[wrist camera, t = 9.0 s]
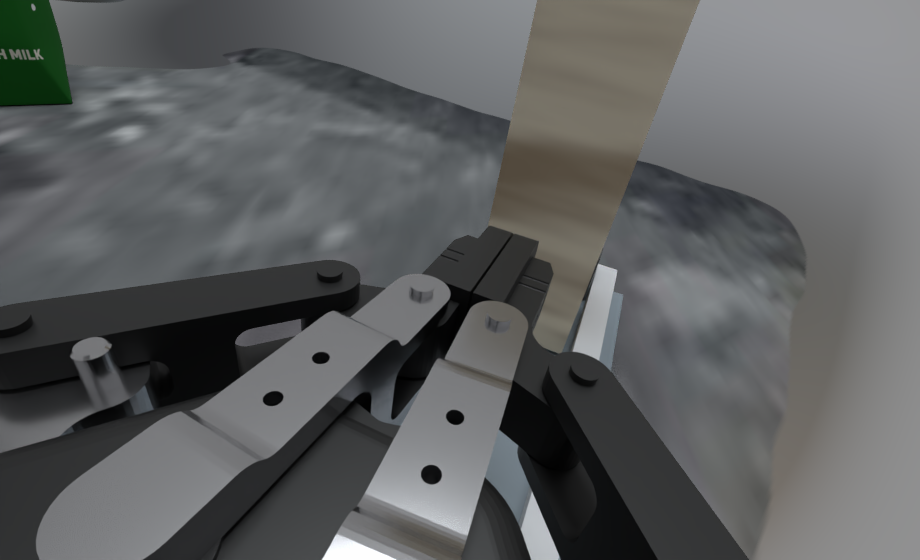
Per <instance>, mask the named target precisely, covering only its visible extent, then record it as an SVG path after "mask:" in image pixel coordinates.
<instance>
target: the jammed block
mask: <svg viewBox="0 0 920 560" xmlns="http://www.w3.org/2000/svg"><path fill="white" fill-rule="evenodd" d="M699 1H700V0H537V4H536V8H535V13H534V18H533V22H532V27H531V32H530V36H529V41H528V45H527V50H526V54H525V59H524V64H523V68H522V73H521V77H520V82H519V87H518V91H517V96H516V100H515V105H514V109H513V114H512V119H511V123H510V128H509V132H508V137H507V141H506V146H505V151H504V155H503V160H502V164H501V169H500V174H499V178H498V183H497V187H496V192H495V197H494V201H493V206H492V210H491V215H490V220H489V224H488V226H493V227H496V228H499V229H502V230H506V231H509V232H512V233H513V234H518V235H521V236H524V237H527V238H530V239H533V240H536V241H539V244H538V249H537V252H536V255H535V258H537V259H540V260H543V261H546V262H549V263H551V266H552V270H553V273H554V275H553V278H552V281H551V284H550V287H549V290H548V293H547V296H546V299H545V301H544V304H543V307H542V310H541V313H540V316H539V319H538V321H537V323H536V326H535V328H534V330H533V335H534V337H535V339H536V341H537V342H538V343H539V344H540V345H541V346H542V347H543V348H546V349H548V350H551V351H553V352H556V353H558V354H559V353H562V350H563V348H564V345H565V343H566V340H567V338H568V335H569V333H570V330H571V327H572V325H573V322H574V320H575V317H576V315H577V312H578V310H579V307H580V304H581V302H582V299H583V297H584V294H585V292H586V289H587V287H588V284H589V282H590V279H591V276H592V274H593V271H594V269H595V266H596V264H597V261H598V259H599V256H600V254H601V251H602V248H603V246H604V243H605V241H606V238H607V236H608V233H609V231H610V228H611V225H612V223H613V220H614V218H615V215H616V213H617V210H618V208H619V205H620V203H621V200H622V197H623V195H624V192H625V190H626V187H627V185H628V182H629V180H630V177H631V175H632V172H633V169H634V167H635V164H636V162H637V159H638V157H639V154H640V152H641V149H642V147H643V144H644V141H645V139H646V136H647V134H648V131H649V129H650V126H651V123H652V121H653V118H654V116H655V113H656V111H657V108H658V106H659V103H660V100H661V98H662V96H663V93H664V90H665V88H666V85H667V83H668V80H669V78H670V75H671V73H672V70H673V67H674V65H675V62H676V60H677V57H678V55H679V52H680V50H681V47H682V44H683V42H684V39H685V37H686V34H687V32H688V29H689V26H690V24H691V22H692V19H693V17H694V14H695V11H696V9H697V6H698V4H699Z"/></svg>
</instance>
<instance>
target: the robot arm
mask: <svg viewBox="0 0 920 560" xmlns="http://www.w3.org/2000/svg"><path fill="white" fill-rule="evenodd" d="M538 244H539V241H536V240H533V239H530V238H527V237H524V236H521V235H518V234H513V233H512V232H509V231H506V230H502V229H499V228H496V227H493V226H488V228H487V229H486V230H485V231H484V232H483V233H482V235H481V236H480V237H479V238H475V237H472V236H469V235H467V236H464V237H462V238H459V239H456V240H454V241H453V242H452V243H451V244H450V245H449V246H448V247H447V250H445V251H444V252H443V253H442V254H441V256H439V257H438V258H437V259H436V260H435V261H434V262H433V263H432V264H431V265H430V266H429V267H428V268H427V269H426V270H425V271H424V272H423V273H422V274H411V275H406V276H403V277H400V278H399V279H397V280H396V281H395V282H393V283H392V284H391V285H390V286H388V287H387V288H381V287H374V286H367V285H361V284H360V274H359V271H358V270H357V269H356V268H355V267H354V266H352V265H350V264H348V263H345V262H342V261H336V260H323V261H315V262H308V263H301V264H294V265H287V266H280V267H273V268H266V269H258V270H251V271H244V272H237V273H230V274H223V275H216V276H209V277H202V278H194V279H187V280H180V281H173V282H166V283H159V284H152V285H145V286H138V287H130V288H123V289H116V290H109V291H102V292H95V293H88V294H81V295H74V296H66V297H59V298H52V299H45V300H38V301H31V302H24V303H17V304H11V305H7V306H3V307H0V560H531V558H530V555H529V552H528V549H527V546H526V543H525V540H524V537H523V534H522V532H521V529H520V526H519V524H518V522H517V520H516V518H515V516H514V514H513V512H512V510H511V508H510V507H509V505H508V504H507V502H506V501H505V499H504V498H503V497H502V495H501V494H500V493H499V492H498V490H497V489H496V488H495V487H494V486H493V485H492V484H491V483H490V482H489V481H488V480H487V479H486V478H485V475H486V472H487V468H488V465H489V461H490V458H491V455H492V451H493V448H494V444H495V441H496V438H497V434H498V431H499V430H500V431H501V432H502V433H504V434H505V435H506V436H507V437H508V438H510V439H511V440H512V441H513V442H514V443H516V444H517V445H518V449H517V454H518V459H519V462H520V464H521V467H522V469H523V471H524V474H525V476H526V478H527V481H528V483H529V485H530V488H531V490H532V493H533V495H534V497H535V500H536V502H537V504H538V507H539V509H540V511H541V514H542V516H543V519H544V521H545V523H546V526H547V528H548V530H549V533H550V535H551V537H552V540H553V542H554V545H555V547H556V549H557V552H558V554H559V556H560V559H561V560H749V559H748V558H747V556H746V555H745V554H744V552H743V551H742V549H741V548H740V547H739V545H738V544H737V543H736V541H735V540H734V539H733V537H732V536H731V534H730V533H729V532H728V530H727V529H726V528H725V526H724V525H723V524H722V522H721V521H720V519H719V518H718V517H717V515H716V514H715V513H714V511H713V510H712V509H711V507H710V506H709V505H708V503H707V502H706V500H705V499H704V498H703V496H702V495H701V494H700V492H699V491H698V490H697V488H696V487H695V485H694V484H693V483H692V481H691V480H690V479H689V477H688V476H687V475H686V473H685V472H684V470H683V469H682V468H681V466H680V465H679V464H678V462H677V461H676V460H675V458H674V457H673V455H672V454H671V453H670V451H669V450H668V449H667V447H666V446H665V445H664V443H663V442H662V440H661V439H660V438H659V436H658V435H657V434H656V432H655V431H654V430H653V428H652V427H651V425H650V424H649V423H648V421H647V420H646V419H645V417H644V416H643V415H642V413H641V412H640V411H639V409H638V408H637V406H636V405H635V404H634V402H633V401H632V400H631V398H630V397H629V396H628V394H627V393H626V391H625V390H624V389H623V387H622V386H621V385H620V383H619V382H618V381H617V379H616V378H615V376H614V375H613V374H612V372H611V371H610V370H609V369H608V368H607V367H606V366H605V365H604V364H603V363H601V362H600V361H599V360H597V359H595V358H593V357H591V356H589V355H586V354H583V353H579V352H562V353H559V354H557V355H555V356H554V355H552V354H551V353H549V352H548V351H547V350H545V349H544V348H543V347H542V346H541V345H540V344H539V343H538V342H537V341H536V339H535V337H534V335H533V330H534V328H535V326H536V323H537V321H538V319H539V316H540V313H541V310H542V307H543V304H544V301H545V299H546V296H547V293H548V290H549V287H550V284H551V281H552V278H553V275H554V273H553V270H552V266H551V263H549V262H546V261H543V260H540V259H537V258H535V255H536V252H537V249H538ZM296 319H301V329H302V332H301V333H299V334H298V335H297V336H294V337H289V338H284V339H280V340H275V341H271V342H266V343H261V344H257V345H252V346H247V347H243V346H238V345H236V344H235V341H236V339H237V337H238V336H239V335H240V334H241V333H242V332H244V331H246V330H248V329H252V328H257V327H262V326H267V325H272V324H277V323H282V322H287V321H291V320H296ZM402 422H403V423H402ZM401 423H402V425H401ZM400 425H401V426H400Z"/></svg>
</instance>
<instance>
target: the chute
mask: <svg viewBox="0 0 920 560" xmlns="http://www.w3.org/2000/svg"><path fill="white" fill-rule="evenodd" d="M602 251H603V248H602ZM602 251H601V254H602ZM601 254H600V256H599V259H598V261H597V264H596V266H595V269H594V271H593V274H592V276H591V279H590V282H589V284H588V287H587V289H586V292H585V294H584V297H583V299H582V302H581V304H580V307H579V310H578V312H577V315H576V317H575V320H574V322H573V325H572V327H571V330H570V333H569V335H568V338H567V340H566V343H565V345H564V348H563V350H562V352H579V353H583V354H586V355H589V356H591V357H593V358H595V359H597V360H599V361H600V362H601V363H603V364H604V365H605V366H606V367H607V368H608V369H609V370H610V371H611V366H612V360H613V354H614V348H615V342H616V336H617V330H618V324H619V318H620V312H621V306H622V300H623V295H622V294H619V293H616V292H613V290H614V285H615V280H616V275H617V270H615V269H612V268H609V267H606V266H603V265H600V264H598V263H599V260H600V257H601ZM597 265H598V266H597ZM595 270H596V271H595ZM593 275H594V276H593ZM591 280H592V281H591ZM544 349H545V350H547V351H548V352H549V353H551V354H552V355H554V356H555V355H557V354H558V353H556V352H553V351H551V350H548V349H546V348H544ZM402 423H403V422H402ZM402 423H401V425H402ZM401 425H400V426H401ZM517 449H518V445H517V444H516V443H514V442H513V441H512V440H511V439H510V438H508V437H507V436H506V435H505V434H504V433H502V432H501V431H500V430H499V431H498V434H497V438H496V441H495V444H494V448H493V451H492V455H491V458H490V461H489V465H488V468H487V472H486V475H485V478H486V479H487V480H488V481H489V482H490V483H491V484H492V485H493V486H494V487H495V488H496V489H497V490H498V492H499V493H500V494H501V495H502V497H503V498H504V499H505V501H506V502H507V504H508V505H509V507H510V508H511V510H512V512H513V514H514V516H515V518H516V520H517V522H518V524H519V526H520V529H521V532H522V534H523V537H524V540H525V543H526V546H527V549H528V552H529V555H530V558H531V560H561V559H560V556H559V554H558V552H557V549H556V547H555V545H554V542H553V540H552V537H551V535H550V533H549V530H548V528H547V526H546V523H545V521H544V519H543V516H542V514H541V511H540V509H539V507H538V504H537V502H536V500H535V497H534V495H533V493H532V490H531V488H530V485H529V483H528V481H527V478H526V476H525V474H524V471H523V469H522V467H521V464H520V462H519V459H518V454H517Z"/></svg>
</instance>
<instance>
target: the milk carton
mask: <svg viewBox="0 0 920 560" xmlns="http://www.w3.org/2000/svg"><path fill="white" fill-rule="evenodd" d="M67 103H71V104H72V98H71V93H70V88H69V82H68V77H67V71H66V65H65V59H64V54H63V48H62V44H61V40H60V36H59V32H58V29H57V25H56V22H55V19H54V16H53V12H52V9H51V6H50V3H49V0H0V106H1V105H34V104H67Z"/></svg>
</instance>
